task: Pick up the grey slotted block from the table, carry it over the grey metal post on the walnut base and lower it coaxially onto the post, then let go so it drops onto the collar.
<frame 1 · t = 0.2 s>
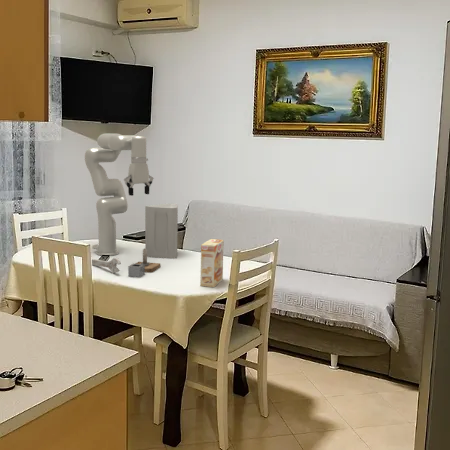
hand: (139, 194, 300), 37 cm above the table, tool pointing down, fingers open, 9 cm apart
grey slotted block: (136, 275, 286), on the table
upright grey panel: (166, 256, 329), on the table
wrench: (104, 270, 296), on the table
shaft block: (145, 269, 299), on the table
coffeecake box: (211, 283, 277), on the table
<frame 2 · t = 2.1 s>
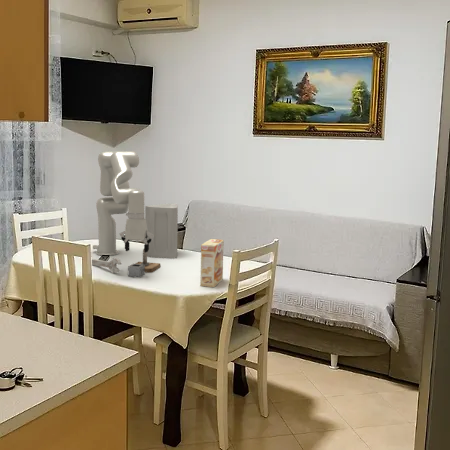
hand: (136, 251, 284), 12 cm above the table, tool pointing down, fingers open, 9 cm apart
nothing on the table moved.
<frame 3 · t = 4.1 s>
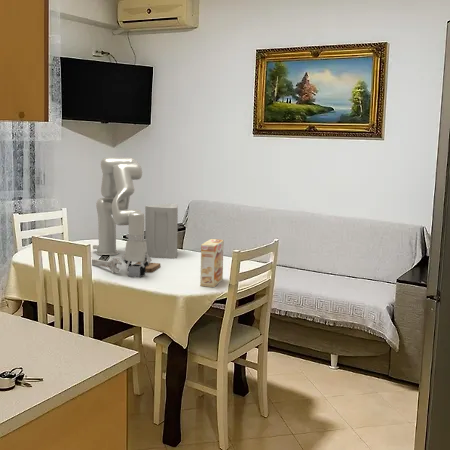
hand: (136, 273, 286), 1 cm above the table, tool pointing down, fingers closed on grey slotted block, 6 cm apart
grey slotted block: (136, 275, 286), on the table, touching gripper
everything else where it was.
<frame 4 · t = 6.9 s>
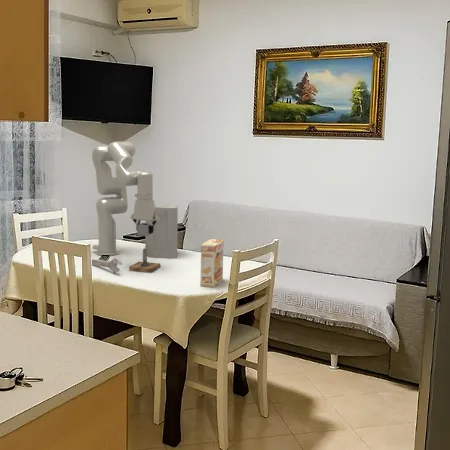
hand: (145, 232, 296), 19 cm above the table, tool pointing down, fingers closed on grey slotted block, 6 cm apart
grey slotted block: (145, 233, 296), point 18 cm above the table, touching gripper
everything else where it was.
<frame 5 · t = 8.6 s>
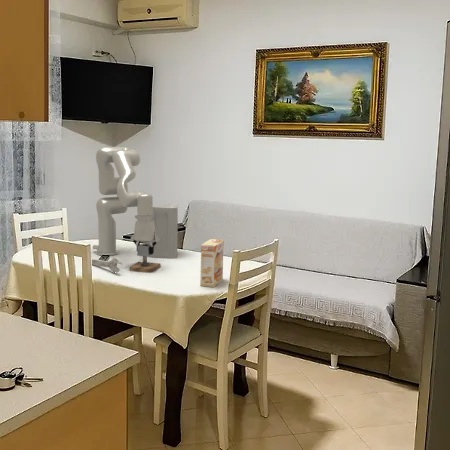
hand: (145, 253, 297), 8 cm above the table, tool pointing down, fingers closed on grey slotted block, 6 cm apart
grey slotted block: (145, 254, 298), point 7 cm above the table, touching gripper
everything else where it was.
when the fingers open (6 cm above the table, at t = 10.0 s): grey slotted block drops 2 cm, resting on shaft block.
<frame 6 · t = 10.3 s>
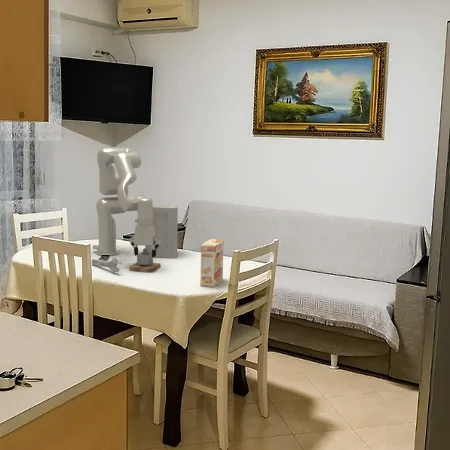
hand: (145, 256, 298), 7 cm above the table, tool pointing down, fingers open, 9 cm apart
grey slotted block: (144, 263, 298), point 3 cm above the table, touching shaft block
everything else where it was.
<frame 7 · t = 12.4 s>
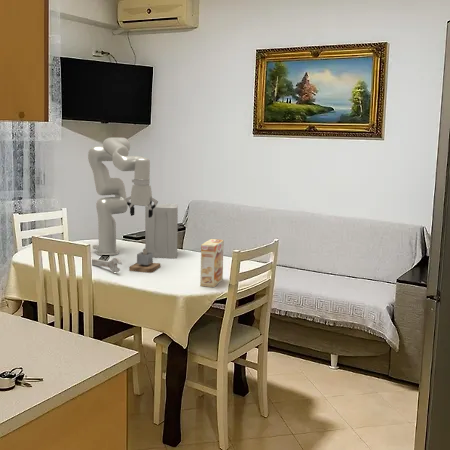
hand: (141, 216, 298), 26 cm above the table, tool pointing down, fingers open, 9 cm apart
nothing on the table moved.
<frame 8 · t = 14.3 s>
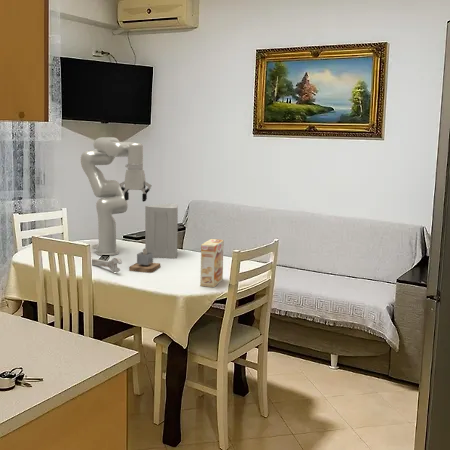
hand: (135, 200, 304), 33 cm above the table, tool pointing down, fingers open, 9 cm apart
nothing on the table moved.
at the end: grey slotted block 0.1 cm off-centre on the shaft block, point 3.0 cm above the shaft block's base; the gripper is holding nothing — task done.
